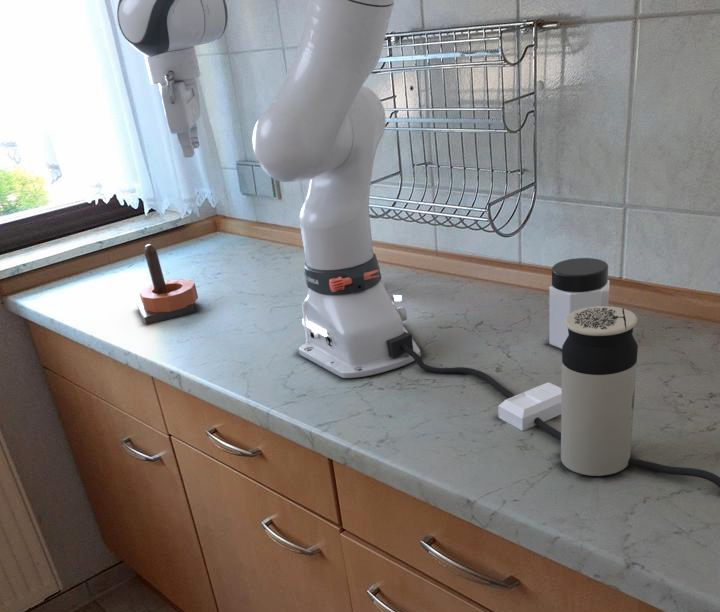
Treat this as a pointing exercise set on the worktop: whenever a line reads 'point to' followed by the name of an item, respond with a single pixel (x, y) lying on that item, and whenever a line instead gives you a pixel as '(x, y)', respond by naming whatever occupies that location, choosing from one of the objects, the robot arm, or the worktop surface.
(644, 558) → the worktop surface
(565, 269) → the jar
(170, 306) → the ring
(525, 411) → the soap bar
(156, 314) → the peg stand
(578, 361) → the travel mug
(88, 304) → the worktop surface
